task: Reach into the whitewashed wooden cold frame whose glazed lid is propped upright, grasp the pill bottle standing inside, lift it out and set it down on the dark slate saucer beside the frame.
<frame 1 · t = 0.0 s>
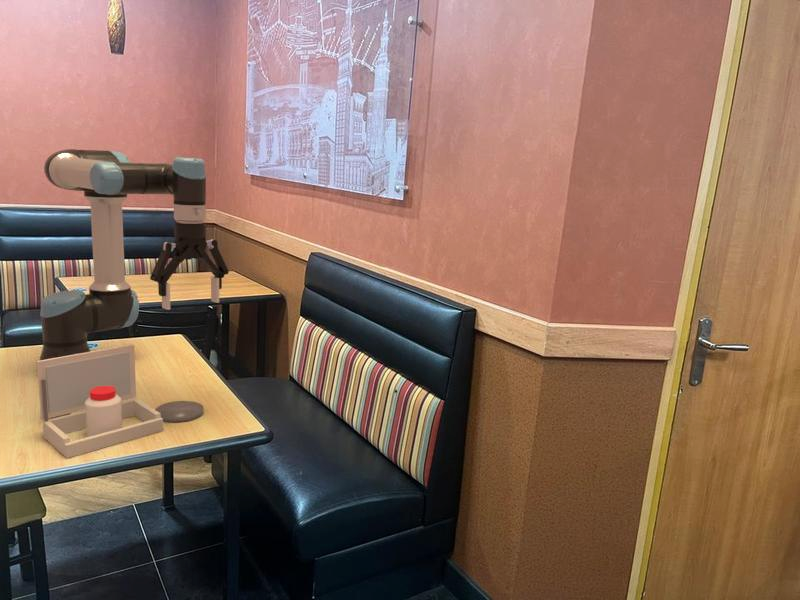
hand: (191, 305, 160), 28 cm above the table, fingers open, 13 cm apart
battery: (59, 416, 157), on the table
saucer: (179, 413, 163), on the table
pill bottle: (104, 434, 149), resting in cold frame
cold frame: (104, 433, 149), on the table
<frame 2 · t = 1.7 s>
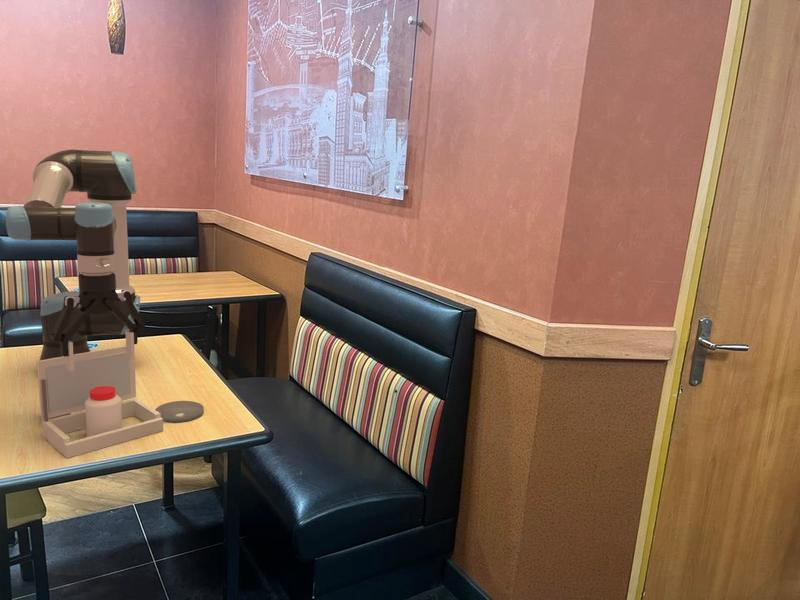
hand: (101, 363, 145), 17 cm above the table, fingers open, 13 cm apart
nothing on the table moved.
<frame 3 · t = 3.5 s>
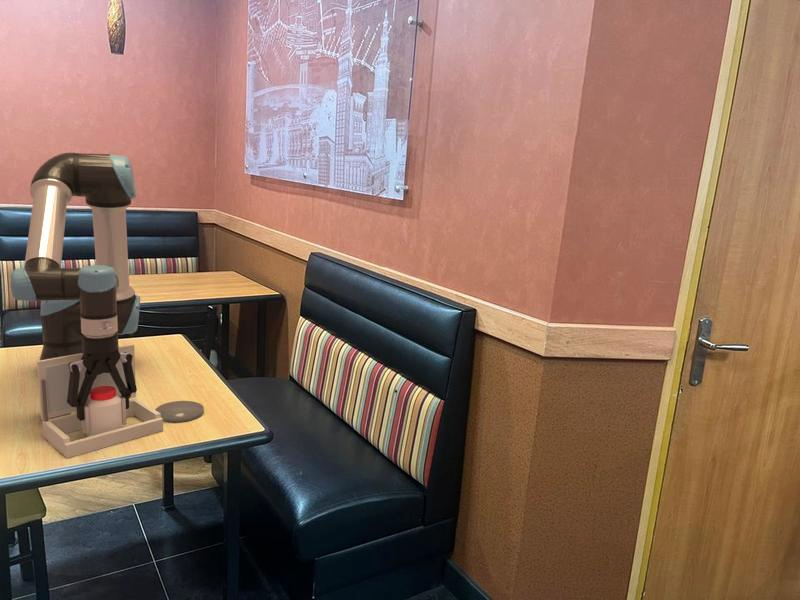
hand: (104, 426, 149), 2 cm above the table, fingers closed on pill bottle, 8 cm apart
pill bottle: (104, 434, 149), resting in cold frame, touching gripper
everything else where it was.
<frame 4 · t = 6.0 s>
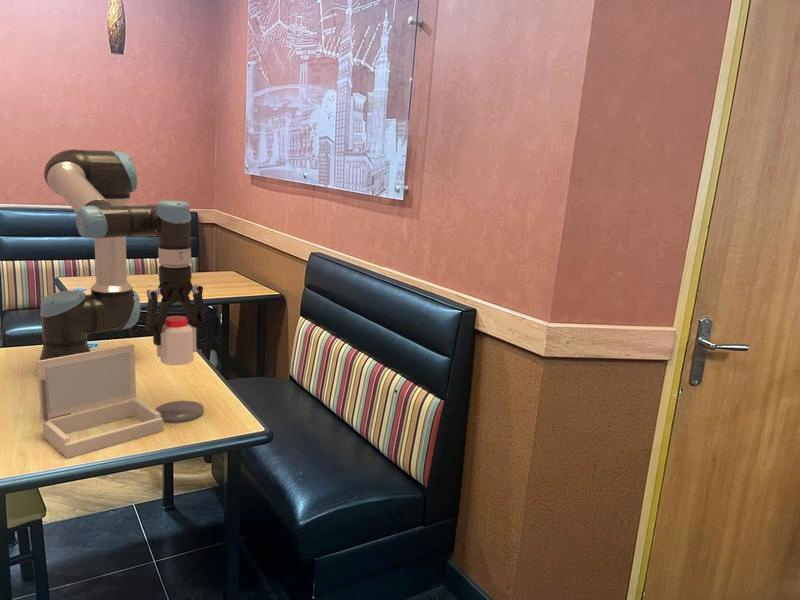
hand: (177, 353, 159), 16 cm above the table, fingers closed on pill bottle, 8 cm apart
pill bottle: (177, 361, 159), point 14 cm above the table, touching gripper
everything else where it was.
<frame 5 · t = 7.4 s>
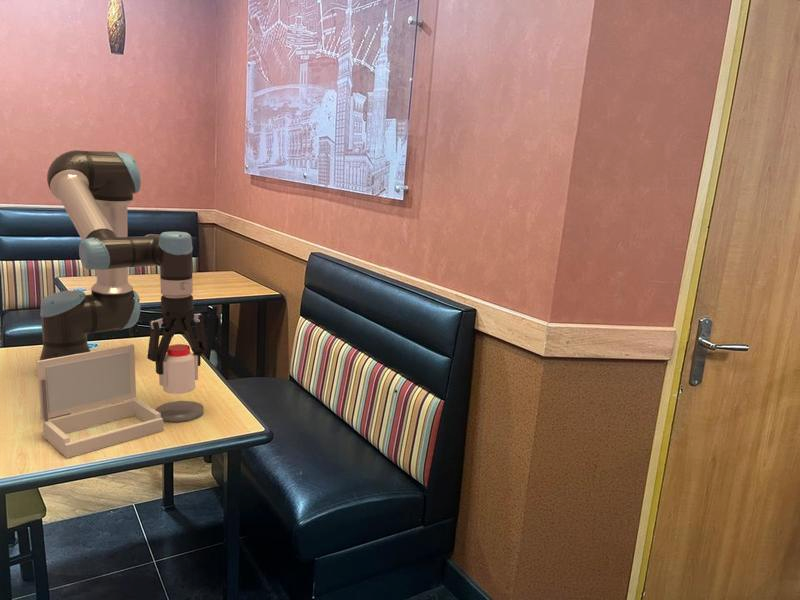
hand: (179, 382, 161), 9 cm above the table, fingers closed on pill bottle, 8 cm apart
pill bottle: (179, 389, 161), point 7 cm above the table, touching gripper
everything else where it was.
when the fingers open (4 cm above the table, at t = 8.7 s): pill bottle drops 1 cm, resting on saucer.
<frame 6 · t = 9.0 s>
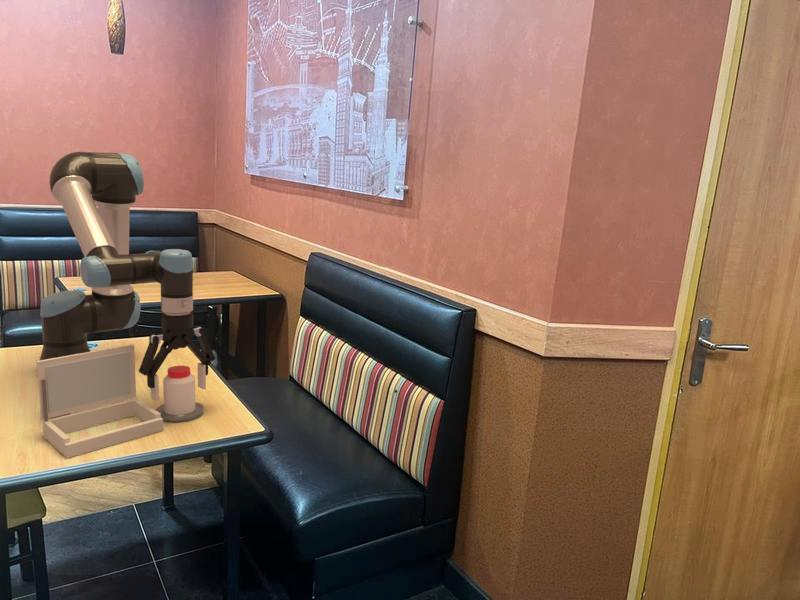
hand: (179, 393, 162), 5 cm above the table, fingers open, 12 cm apart
pill bottle: (179, 410, 163), point 1 cm above the table, touching saucer
everything else where it was.
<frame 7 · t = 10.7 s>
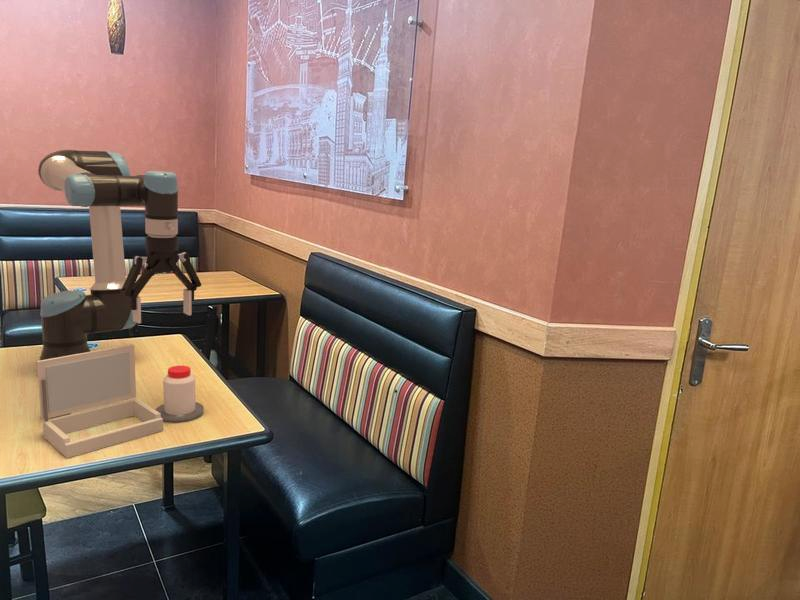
hand: (163, 318, 160), 24 cm above the table, fingers open, 13 cm apart
nothing on the table moved.
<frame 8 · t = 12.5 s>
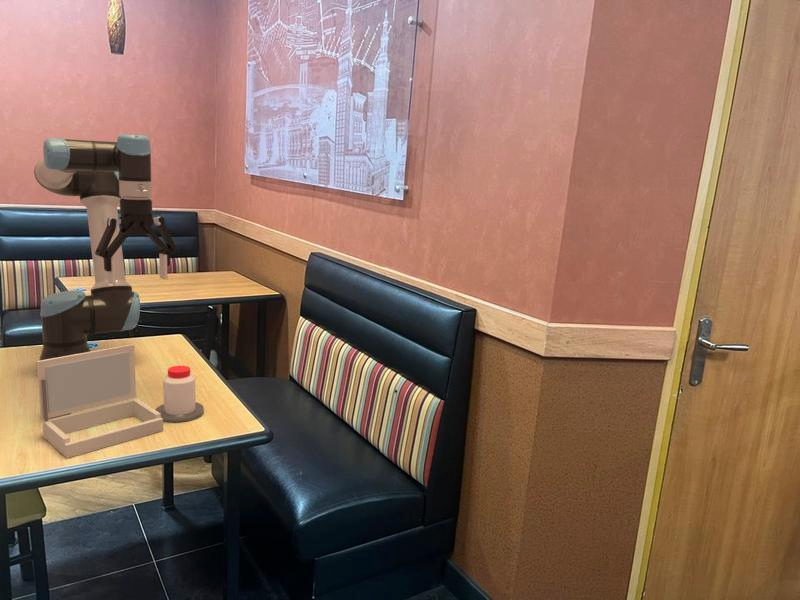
hand: (138, 281, 163), 33 cm above the table, fingers open, 13 cm apart
nothing on the table moved.
at the end: pill bottle 0.1 cm from the saucer (horizontally); pill bottle tilted 0°; the gripper is holding nothing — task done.
